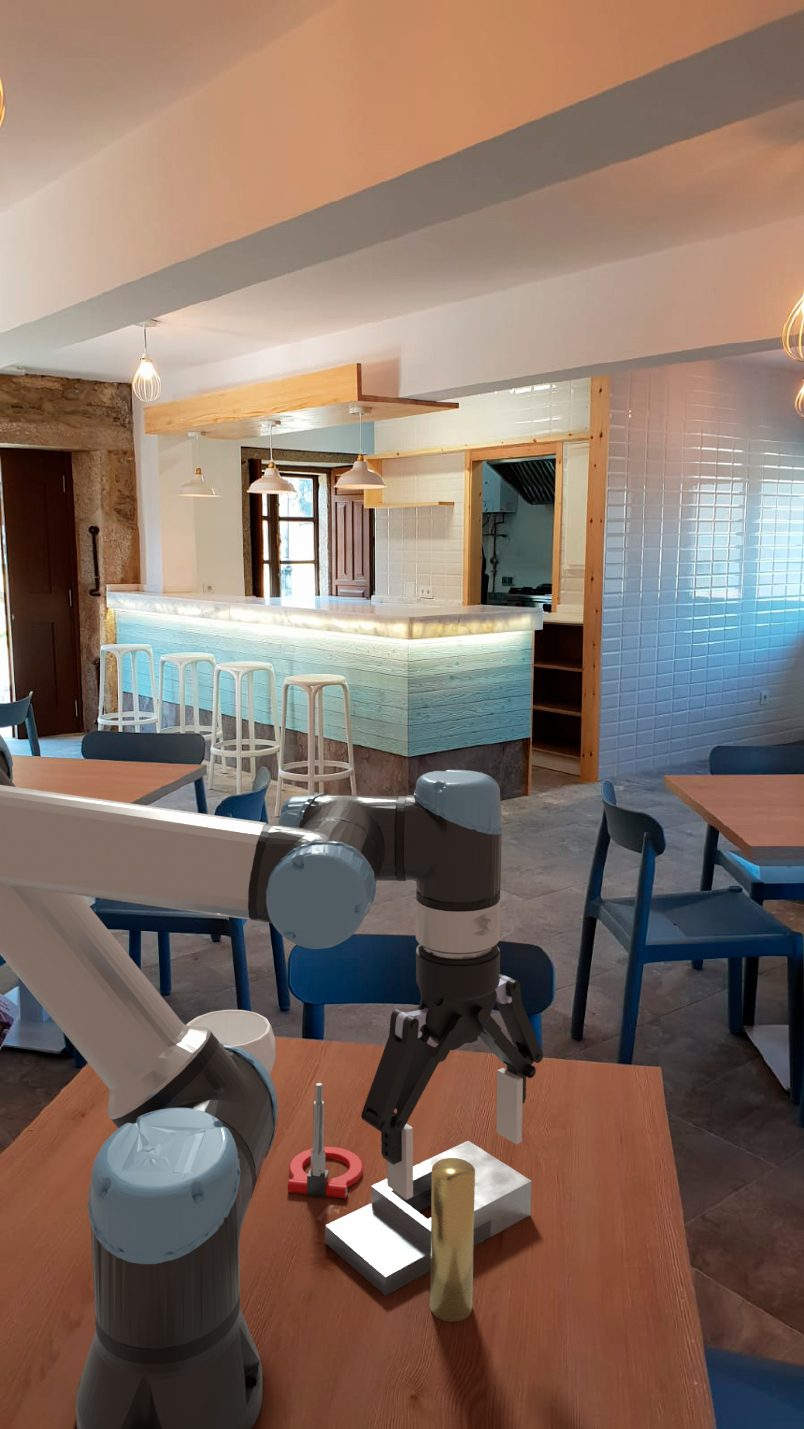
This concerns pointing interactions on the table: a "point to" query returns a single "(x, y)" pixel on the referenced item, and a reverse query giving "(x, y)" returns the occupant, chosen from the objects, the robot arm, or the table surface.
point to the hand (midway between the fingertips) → (456, 1163)
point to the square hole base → (424, 1219)
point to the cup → (242, 1032)
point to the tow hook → (322, 1162)
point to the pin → (452, 1239)
